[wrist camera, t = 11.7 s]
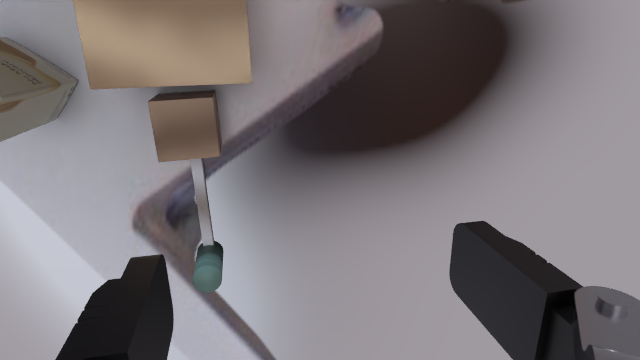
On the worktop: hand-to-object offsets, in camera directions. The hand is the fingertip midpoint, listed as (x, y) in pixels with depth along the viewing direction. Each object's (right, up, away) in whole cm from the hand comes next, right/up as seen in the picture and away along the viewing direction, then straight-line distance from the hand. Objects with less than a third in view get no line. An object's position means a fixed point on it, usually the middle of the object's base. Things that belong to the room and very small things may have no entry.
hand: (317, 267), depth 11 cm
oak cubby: (-12, +18, +24) cm, 32 cm away
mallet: (-12, +2, +29) cm, 32 cm away
